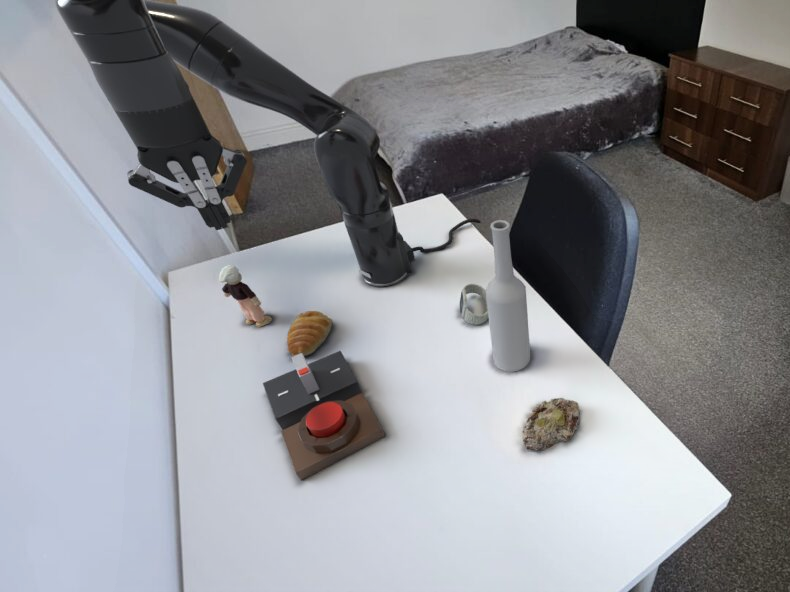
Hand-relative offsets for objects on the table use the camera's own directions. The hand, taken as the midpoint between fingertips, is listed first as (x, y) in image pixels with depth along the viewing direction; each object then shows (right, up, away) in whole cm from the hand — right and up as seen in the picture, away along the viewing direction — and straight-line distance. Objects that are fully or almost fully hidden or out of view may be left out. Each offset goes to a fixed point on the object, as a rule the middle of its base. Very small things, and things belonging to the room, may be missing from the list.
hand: (221, 226), depth 65 cm
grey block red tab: (+7, -23, +10) cm, 26 cm away
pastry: (0, -17, +21) cm, 28 cm away
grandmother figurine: (-12, -14, +24) cm, 31 cm away
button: (+13, -28, +4) cm, 31 cm away
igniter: (+13, -31, +6) cm, 34 cm away
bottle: (+38, -21, +20) cm, 47 cm away
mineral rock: (+45, -31, +9) cm, 55 cm away
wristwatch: (+29, -13, +29) cm, 43 cm away
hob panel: (+6, -26, +12) cm, 29 cm away
